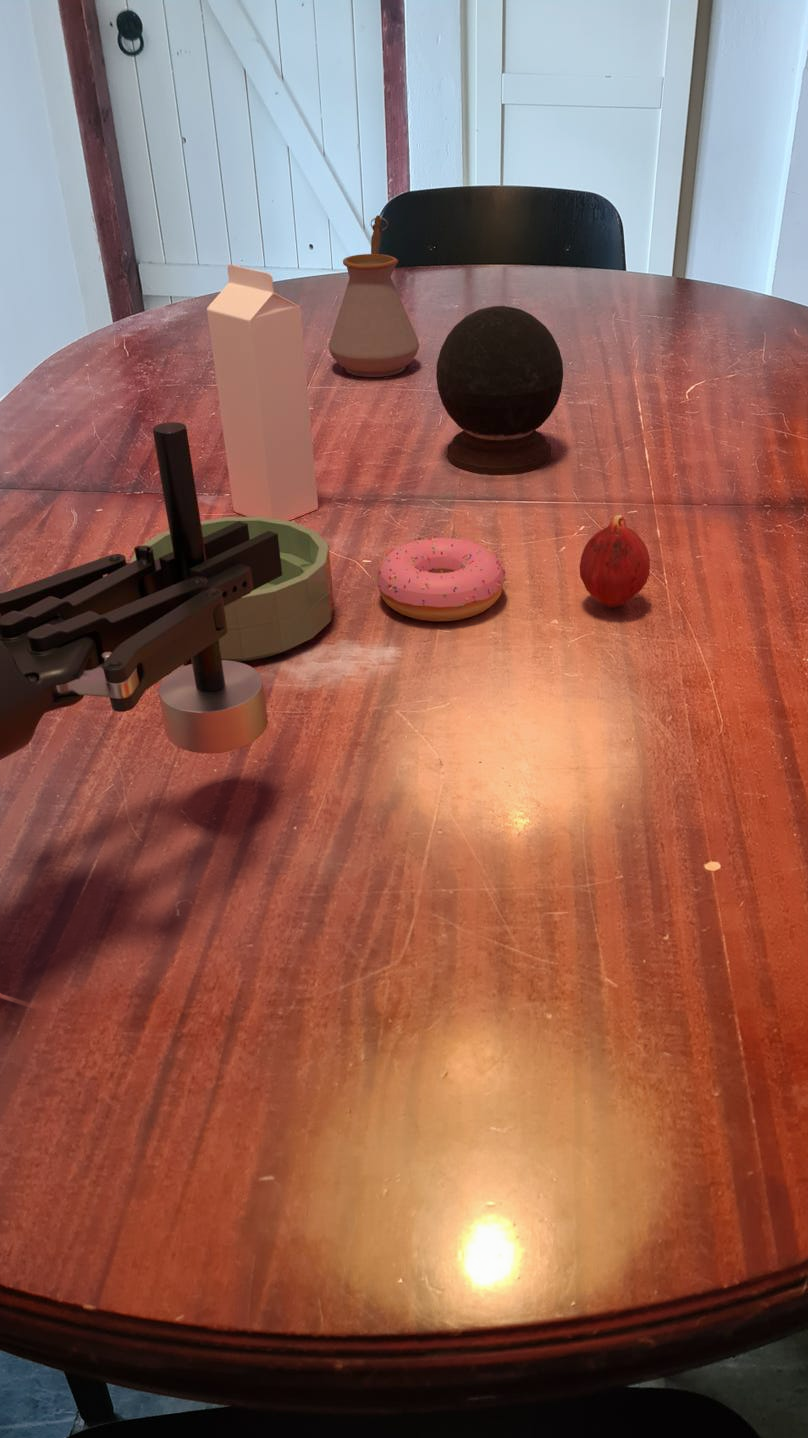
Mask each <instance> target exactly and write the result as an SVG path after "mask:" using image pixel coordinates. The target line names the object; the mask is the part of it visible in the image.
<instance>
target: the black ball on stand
mask: <svg viewBox="0 0 808 1438" xmlns="http://www.w3.org/2000/svg"><path fill="white" fill-rule="evenodd" d="M435 372H436V374H435V376H436V377H435V379H436V385H437V391H438V395H439V399H440V400H441V403H442V406H443V408H444V410H445V411H446V413H447V415H448V416H449V418H451V420H453V422H454V423H455V425H457V426H458V427H459V428H460V429H461V430H462V431H459V432H458V433H457V434H455V436H453V438H452V441H450V443H449V444H448V446H447V449H446V450H447V451H446V453H447V460H448V461H449V463H450V464H452V465H453V466H454V467H456V468H459V469H461V470H464V471H467V472H471V473H476V474H481V475H497V476H498V475H499V476H503V475H516V474H523V473H527V472H528V473H529V472H531V471H535V470H538V469H540V468H542V467H545V465H547V464H548V463H549V462H550V461H551V459H552V450H553V449H552V446H551V444H550V443H549V442H548V440H547V438H546V436H545V435H544V434H543V433H541V432H540V431H538V429H539V428H540V427H542V425H544V424H545V422H546V421H547V420H548V419H549V417H550V416H551V415H552V413H553V411H554V410H555V409H556V406H557V404H558V403H559V399H560V396H561V393H562V388H563V380H564V362H563V359H562V354H561V351H560V348H559V346H558V343H557V342H556V339H555V338H554V335H553V334H552V332H550V330H549V329H548V327H547V326H546V325H545V324H544V323H542V321H540V320H539V319H537V317H535V316H534V315H533V314H531V313H529V312H527V311H525V310H523V309H521V308H517V307H513V306H507V305H492V306H487V307H483V308H479V309H477V310H475V311H474V312H471V313H470V314H468V315H465V317H463V319H461V320H460V321H459V322H458V323H456V324H455V325H454V326H453V328H452V329H451V330H450V332H449V333H448V334H447V336H446V338H445V339H444V342H443V344H442V345H441V347H440V350H439V354H438V357H437V362H436V371H435Z"/></svg>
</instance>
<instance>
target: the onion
mask: <svg viewBox="0 0 808 1438" xmlns="http://www.w3.org/2000/svg"><path fill="white" fill-rule="evenodd" d="M626 523H627V517H624V515H622V514H616V515H614V516H612V519H611V521H610V522H609V525H608V526H606V527H605V528H603V529H601V530H599V531H598V532H596V533H595V534H593V536H591V537H590V539H589V540H588V541H587V543H586V544H585V546H584V548H583V551H582V554H581V557H580V562H579V576H580V579H581V581H582V582H583V585H584V588H585V590H586V591H587V593H589V595H590V596H591V597H593V598H594V599H595V600H597V601H598V602H599V603H601V604H602V605H604V606H606V607H608V608H610V609H611V608H614V609H615V608H617V607H619V606H620V605H622V604H624V603H626V602H628V601H630V600H631V599H633V598H634V597H635V596H636V595H637V594H639V593H640V592H641V591H642V589H643V588H644V587H645V585H646V584H647V582H648V580H649V576H650V571H651V570H650V569H651V558H650V554H649V553H650V552H649V550H648V547H647V546H646V543H645V542H644V540H642V539H643V538H641V537H640V535H638V533H636V532H635V531H634V530H633V529H631V528H630V527H628V526H627V524H626Z"/></svg>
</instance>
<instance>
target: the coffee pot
mask: <svg viewBox="0 0 808 1438" xmlns="http://www.w3.org/2000/svg"><path fill="white" fill-rule="evenodd" d="M370 220H371V221H370V227H371V229H372V231H373V232H372V235H371V237H370V240H371V241H370V253H362V254H355V255H350V256H347V257H345V258H343V259H342V264H343V266H344V267H346V270H347V273H348V278H349V279H348V282H347V285H346V287H345V291H344V295H343V298H342V301H341V304H340V307H339V310H338V314H337V316H336V319H335V323H334V325H333V326H334V327H333V329H332V333H331V336H330V338H329V341H328V350H329V353H330V355H331V356H332V358H333V359H334V360H335V361H336V362H337V364H338V365H339V366H341V367H343V368H344V370H345V371H346V373H348V374H350V375H353V376H356V377H363V378H383V377H390V376H393V375H397V374H400V373H402V372H404V371H405V370H406V366H408V365H409V364H411V362H412V361H413V360H414V359H415V357H416V356H417V354H418V352H419V348H420V342H419V339H418V337H417V334H416V332H415V330H414V327H413V325H412V322H411V321H410V318H409V316H408V313H407V311H406V308H405V307H404V304H403V302H402V300H401V298H400V295H399V293H398V291H397V288H396V285H395V284H394V282H393V279H392V274H393V273H394V270H395V269H396V266H397V264H398V263H399V260H398V258H396V257H394V256H393V255H392V256H391V255H388V254H383V253H382V254H380V249H381V243H382V237H381V236H382V235H381V233H382V231H385V230H386V229H387V228H388V226H389V223H388V221H387V219H386V218H384V217H381V216H380V215H379V214H378V215H375V217H374V218H373V219H370ZM382 220H383V221H384V222H385V223H386V225H385V227H384V228H383V226H382V225H381V224H382ZM373 221H374V224H372V223H373Z"/></svg>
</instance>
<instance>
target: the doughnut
mask: <svg viewBox="0 0 808 1438" xmlns="http://www.w3.org/2000/svg"><path fill="white" fill-rule="evenodd" d="M498 557H499V555H496V554H495V553H494V552H493V551H492V549H491V547H489V548H487V546H484V545H483V544H479V543H477V542H475V541H472V540H467V539H464V538H463V539H462V538H457V537H456V536H454V537H437V536H436V535H434V536H433V537H431V536H430V537H428V538H425V537H423V538H422V539H420V537H418V539H417V540H413V541H409V542H407V543H403V544H402V545H399V546H398V547H396V548H394V549H391V550H390V551H389V552H388V553H385V557H384V558H383V559H382V561H378V564H380V565H379V567H378V571H377V575H375V576H374V578H376V584H377V587H378V590H379V591H378V592H379V595H380V596H381V598H382V600H383V601H384V603H385V604H386V605H387V606H389V607H390V608H391V609H392V610H393V611H395V612H397V613H398V614H400V615H402V616H405V617H408V618H411V619H415V620H420V621H425V622H426V621H427V622H452V621H460V620H464V619H468V618H471V617H474V616H477V615H479V614H481V613H483V612H485V611H486V610H488V609H489V608H490V607H492V606H493V605H494V604H495V603H496V602H497V601H498V599H499V598H500V596H501V594H502V592H503V589H504V584H505V581H507V579H506V570H504V563H501V560H500V559H499V558H498Z"/></svg>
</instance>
